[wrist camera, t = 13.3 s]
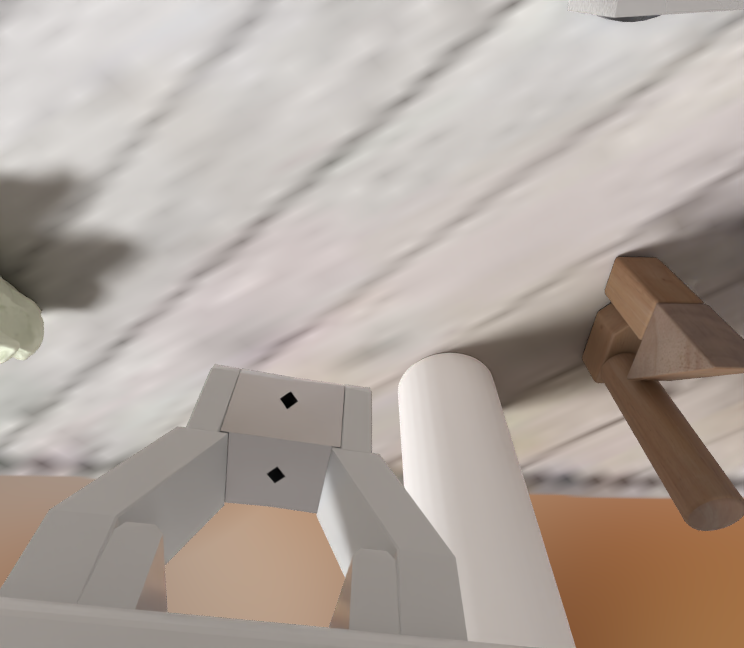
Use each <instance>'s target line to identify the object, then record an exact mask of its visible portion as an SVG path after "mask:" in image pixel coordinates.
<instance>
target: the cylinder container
mask: <svg viewBox="0 0 744 648" xmlns="http://www.w3.org/2000/svg"><path fill="white" fill-rule="evenodd" d="M398 399H399V414H400V429H401V445H402V460H403V475H404V488H405V489H406V491H407V492H408V493H409V495H410V496H411V497H412V499H413V500H414V501H415V503H416V504H417V506H418V507H419V508H420V510H421V511H422V512H423V514H424V515H425V516H426V518H427V519H428V520H429V522H430V523H431V525H432V526H433V527H434V529H435V530H436V531H437V533H438V534H439V535H440V537H441V538H442V540H443V541H444V542H445V544H446V545H447V546H448V548H449V549H450V550H451V552H452V553H453V554H454V556H455V557H456V563H457V570H458V577H459V583H460V590H461V597H462V604H463V611H464V618H465V625H466V631H467V638H468V641H473V642H484V643H494V644H505V645H515V646H526V647H536V648H576V647H575V643H574V640H573V637H572V634H571V630H570V627H569V624H568V621H567V617H566V614H565V611H564V608H563V604H562V601H561V598H560V595H559V591H558V588H557V585H556V582H555V578H554V575H553V572H552V569H551V565H550V562H549V559H548V556H547V553H546V549H545V546H544V543H543V539H542V536H541V533H540V530H539V527H538V523H537V520H536V517H535V513H534V510H533V507H532V504H531V501H530V497H529V494H528V491H527V487H526V484H525V481H524V478H523V474H522V471H521V468H520V465H519V461H518V458H517V455H516V452H515V448H514V445H513V442H512V439H511V435H510V432H509V429H508V425H507V422H506V419H505V416H504V412H503V409H502V406H501V403H500V399H499V396H498V393H497V390H496V386H495V383H494V380H493V377H492V374H491V372H490V371H489V369H488V368H487V367H486V366H485V365H484V364H483V363H482V362H480V361H479V360H477V359H475V358H473V357H471V356H468V355H465V354H459V353H440V354H435V355H431V356H429V357H426V358H423V359H421V360H420V361H418V362H416V363H415V364H413V365H412V366H411V367H410V368H409V369H408V370H407V371H406V372H405V373H404V375H403V376H402V378H401V380H400V383H399V387H398Z"/></svg>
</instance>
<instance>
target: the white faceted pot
mask: <svg viewBox="0 0 744 648" xmlns="http://www.w3.org/2000/svg"><path fill="white" fill-rule="evenodd" d="M597 16H599V15H597ZM657 16H660V15H648V16H633V17H617V18H613V17H606V16H599V17H602V18H605V19H609V20H615V21H622V22H636V21H643V20H647V19H651V18H655V17H657Z"/></svg>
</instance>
